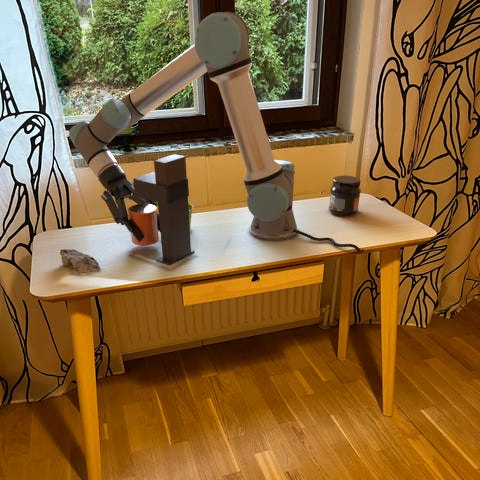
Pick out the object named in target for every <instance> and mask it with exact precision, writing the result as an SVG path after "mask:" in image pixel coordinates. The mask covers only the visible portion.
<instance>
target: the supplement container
mask: <svg viewBox="0 0 480 480" xmlns="http://www.w3.org/2000/svg"><path fill="white" fill-rule="evenodd" d="M361 192H362V189H361V179H360V178H359V177H358V176H354V175H337V176H334V177H333V178H332V185H331V187H330V195H329V206H328V210H329V212H330V213H331V214H333V215H334V216H338V217H352V216H354V215H356V214H357V213H358V212H359V206H360V204H359V203H360V197H361Z"/></svg>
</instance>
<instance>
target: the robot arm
mask: <svg viewBox="0 0 480 480" xmlns="http://www.w3.org/2000/svg"><path fill="white" fill-rule="evenodd" d="M193 39H194V44H193V45H192V46H190V47H189V48H188V49H186V50H185V51H184V52H183V53H181V54H179V55H178V56H177V57H176V58H174V59H172V61H170V62H169V63H168V64H166V65H165V66H164V67H162V68H161V69H159V71H157V72H156V73H155V74H153V75H152V76H151V77H149V78H148V79H147V80H146V81H144V82H143V83H141V84H140V85H139V86H137V87H136V88H135V89H134V90H131V92H130V93H127V95H125V96H124V97H123V98H121V99H117V98H110V99H108V101H107V102H106V103H105V104H103V105H102V107H101V109H99V111H98V112H97V113H96V114H95V116H94V117H93V118H92V119H91V121H90V122H89V121H87V120H81V121H79V122H77V123H76V124H74V125H73V126H72V127H71V128H70V130H69V132H68V137H69V139H70V141H71V142H72V144H73V145H74V148H75V150H77V151H78V153H79V154H80V155H81V157H82V158H83V159H84V161H85V162H86V164H87V165H88V167H89V168H90V170H91V171H92V173H93V174H94V175H95V177H96V178H98V181H99V183H100V184H101V185H102V187H103V188H104V189H105V190H103V192H102V194H101V195H100V198H101V199H102V200H103V201H104V203H105V204H106V205H107V208H108V210H109V212H110V214H111V216H112V218H113V220H114V222H115V223H116V224H117V225H121V226H125V227H126V229H127V230H128V231H129V233H131V232H132V233H133V234H134V236H135V237H136V239H137V240H138V242H140V241H141V240H142V239H143V238H144V237H145V236H144V235H143V234H142V232H141V231H140V229H139V228H138V226H137V225H136V224H135V222H134V221H133V219H132V218H131V219H129V215H128V208H127V206H126V202H125V200H126V199H128V200H130V201H133V202H134V203H136V205H137V204H151V205H154V206H155V207H156V208H157V207H158V202H154V201H150V200H147V199H143V198H139V197H136V196H135V189H134V181H130V180H129V179H128V178H127V175H126V172H125V171H124V170H123V168H122V167H121V166H120V165H119V163H118V161H117V160H116V159H115V157H114V155H113V154H112V153H111V151H110V150H109V148H108V147H107V146H108V145H109V144H110V143H111V142H112V140H113V139H114V138H115V137H116V136H117V135H118V134H119V133H121V132H122V131H124V130H126V129H128V128H129V127H130V126H133V125H135V124H137V123H138V122H139V121H140V120H141V119H143V118H144V117H145V116H146V115H148V114H149V113H150V112H153V110H155V109H156V108H158V107H159V106H161V105H162V104H163V103H165V102H166V101H168V100H169V99H170V98H172V97H173V96H174V95H176V94H177V93H179V92H180V91H182V90H183V89H184V88H186V87H187V86H189V85H191V84H193V82H194V81H196V80H197V79H198V78H200V77H202V76H203V75H204V74H206V73H207V75H208V77H209V80H211V81H212V82H214V83H216V84H217V86H218V89H219V92H220V96H221V99H222V101H223V105H224V107H225V110H226V114H227V117H228V120H229V123H230V127H231V129H232V132H233V136H234V139H235V142H236V145H237V148H238V151H239V154H240V157H241V161H242V162H243V166H244V169H245V173H244V175H243V177H242V180H243V184H244V187H245V190H246V193H247V196H246V204H247V208H248V210H249V213H250V214H251V215H252V217H253V218H252V221H251V223H250V233H251V234H252V235H253V236H254V237H256V238H258V239H261V240H266V241H282V240H287V239H291V238H293V237H294V236H295V235H296V234H298V235H301V236H303V237H306V238H308V239H309V240H312V241H316V242H325V241H326V242H327V241H328V242H331V244H332V245H333V246H334V247H337V248H353V249H355V250H356V251H357V252H360V253H362V250H361V248H360V247H359V246H358V245H356V244H353V243H339V242H338V243H337V242H336V241H335V239H334V238H332V237H316V236H314V235H311V234H309V233H306V232H304V231H301V230H298V226H297V222H296V219H295V214H294V211H293V201H294V184H295V183H294V182H295V174H296V171H295V164H294V163H293V162H292V161H288V160H281V159H275V157H274V154H273V151H272V148H271V143H270V140H269V137H268V134H267V131H266V127H265V124H264V120H263V117H262V113H261V109H260V106H259V103H258V99H257V97H256V94H255V90H254V86H253V83H252V79H251V76H250V70H251V67H252V66H253V62H252V57H251V54H250V51H249V48H248V47H249V44H250V31H249V26H248V24H247V23H246V21H245V20H244V18H242V17H241V15H239V14H237V13H236V12H232V11H224V12H222V11H217V12H213V13H211V14H209V15H207V16H206V17H204V18H203V19H202V20H201V21H200V22H199V24H198V26H197V27H196V30H195V34H194V38H193ZM113 197H114V198H113ZM157 223H158V233H160V223H159V212H157Z"/></svg>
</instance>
